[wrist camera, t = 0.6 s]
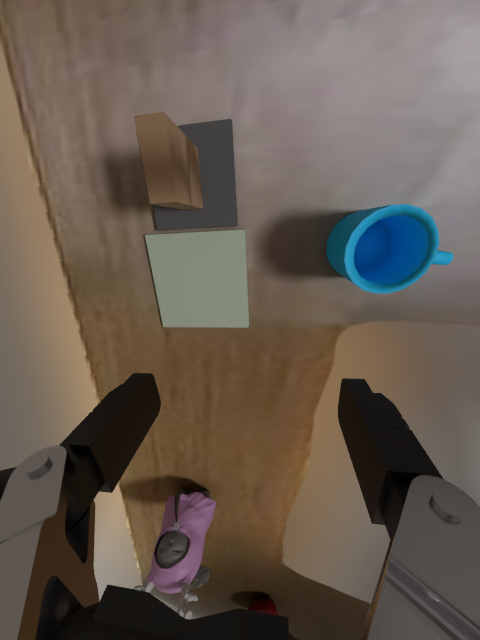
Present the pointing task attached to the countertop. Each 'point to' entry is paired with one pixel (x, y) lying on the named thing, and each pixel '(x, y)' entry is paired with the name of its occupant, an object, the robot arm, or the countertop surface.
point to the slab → (169, 163)
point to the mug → (385, 247)
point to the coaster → (207, 180)
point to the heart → (263, 605)
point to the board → (200, 278)
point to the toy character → (180, 546)
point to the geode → (199, 578)
